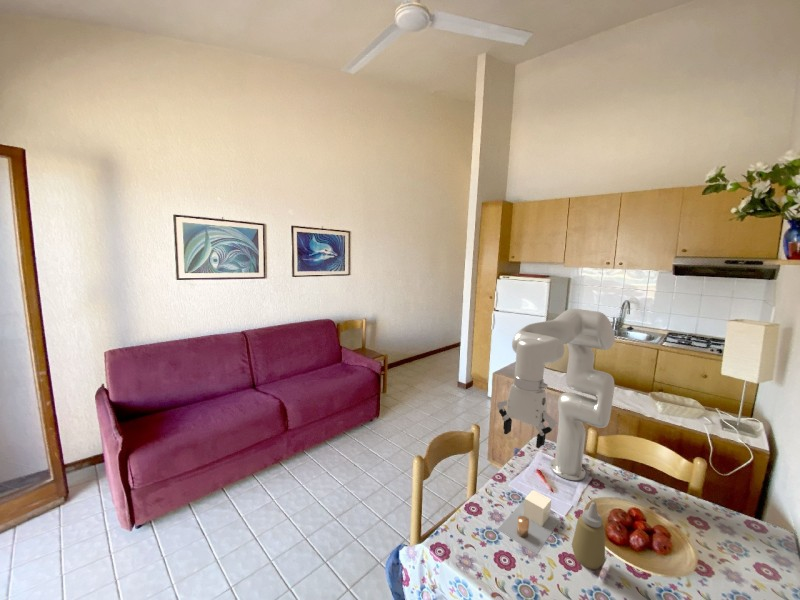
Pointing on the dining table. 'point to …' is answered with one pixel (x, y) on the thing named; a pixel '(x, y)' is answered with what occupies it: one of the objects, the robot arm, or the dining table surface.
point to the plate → (535, 533)
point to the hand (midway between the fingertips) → (522, 439)
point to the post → (523, 526)
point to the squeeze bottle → (589, 539)
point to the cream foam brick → (537, 507)
